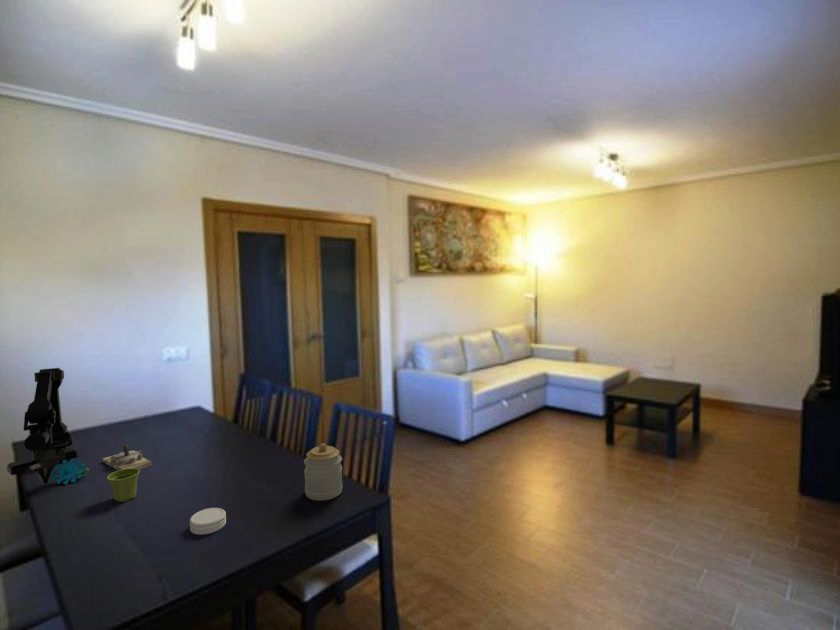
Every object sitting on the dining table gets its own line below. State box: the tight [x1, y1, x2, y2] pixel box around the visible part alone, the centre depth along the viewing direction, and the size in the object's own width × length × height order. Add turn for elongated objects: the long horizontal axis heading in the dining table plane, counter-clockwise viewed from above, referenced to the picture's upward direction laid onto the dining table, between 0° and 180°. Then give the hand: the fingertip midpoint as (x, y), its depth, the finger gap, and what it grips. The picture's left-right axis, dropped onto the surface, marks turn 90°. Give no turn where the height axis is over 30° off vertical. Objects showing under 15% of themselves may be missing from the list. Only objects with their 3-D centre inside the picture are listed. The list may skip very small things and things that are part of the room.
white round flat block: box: [189, 507, 227, 536], centre depth 138 cm, size 10×10×4 cm
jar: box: [303, 443, 343, 502], centre depth 159 cm, size 13×13×18 cm
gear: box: [51, 458, 90, 486], centre depth 170 cm, size 11×6×10 cm
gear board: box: [102, 444, 153, 471], centre depth 184 cm, size 20×11×8 cm, turn 55°
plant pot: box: [106, 468, 141, 503], centre depth 155 cm, size 9×9×9 cm
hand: (45, 483), depth 163 cm, fingers closed
